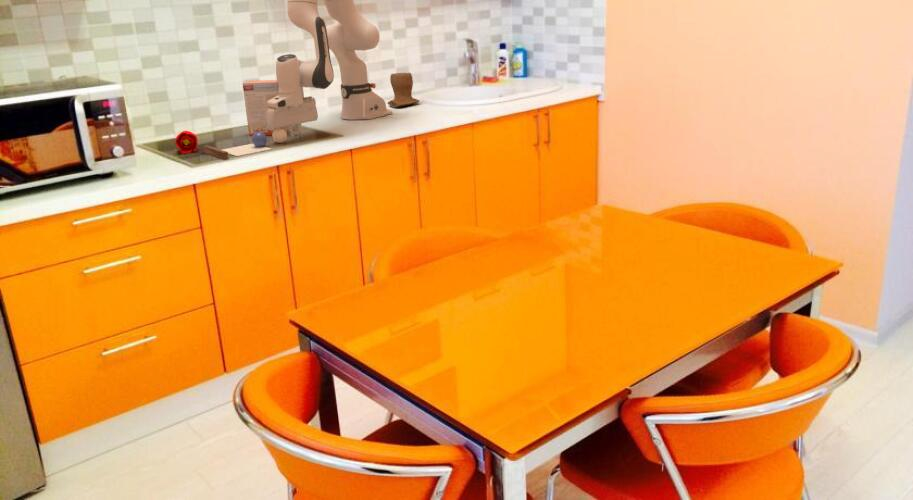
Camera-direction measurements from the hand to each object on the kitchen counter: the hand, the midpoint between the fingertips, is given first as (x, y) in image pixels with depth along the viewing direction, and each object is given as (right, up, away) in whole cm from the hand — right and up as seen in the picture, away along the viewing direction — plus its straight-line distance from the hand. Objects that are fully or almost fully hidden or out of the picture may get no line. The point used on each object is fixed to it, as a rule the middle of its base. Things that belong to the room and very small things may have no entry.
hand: (294, 135), depth 310 cm
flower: (-37, -7, -10) cm, 39 cm away
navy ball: (-11, -3, -10) cm, 15 cm away
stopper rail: (-24, -10, -19) cm, 33 cm away
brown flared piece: (+37, +22, +62) cm, 75 cm away
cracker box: (-13, +2, +14) cm, 19 cm away
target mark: (-16, -7, -12) cm, 21 cm away
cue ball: (-5, 0, -4) cm, 6 cm away
